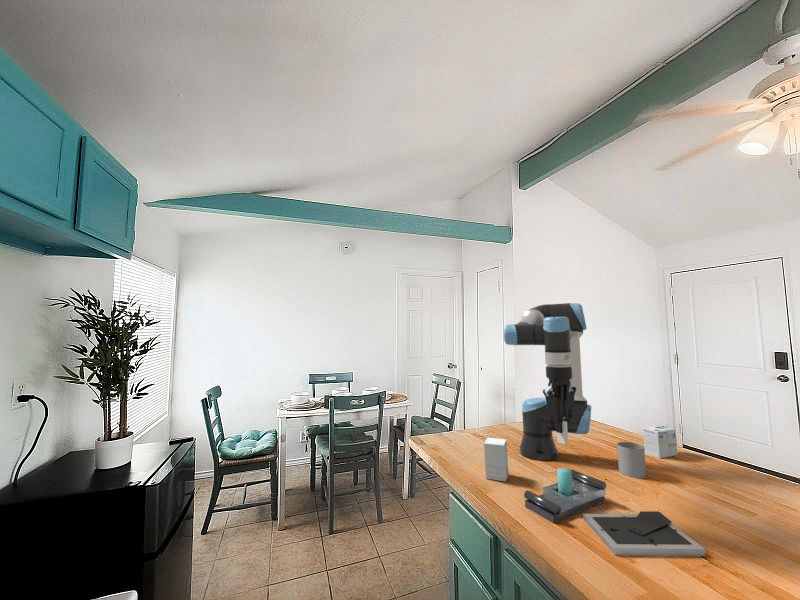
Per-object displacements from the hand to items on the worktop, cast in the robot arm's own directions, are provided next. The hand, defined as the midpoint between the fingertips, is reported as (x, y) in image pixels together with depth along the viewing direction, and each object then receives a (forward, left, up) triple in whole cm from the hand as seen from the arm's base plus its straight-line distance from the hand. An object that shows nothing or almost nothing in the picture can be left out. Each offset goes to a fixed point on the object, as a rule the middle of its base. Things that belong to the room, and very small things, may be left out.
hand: (562, 442), depth 109 cm
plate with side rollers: (0, 0, -18) cm, 18 cm away
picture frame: (+20, +2, -19) cm, 28 cm away
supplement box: (-26, -3, -19) cm, 32 cm away
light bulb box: (-8, +71, -19) cm, 73 cm away
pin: (0, 0, -18) cm, 18 cm away
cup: (-3, +41, -19) cm, 45 cm away
